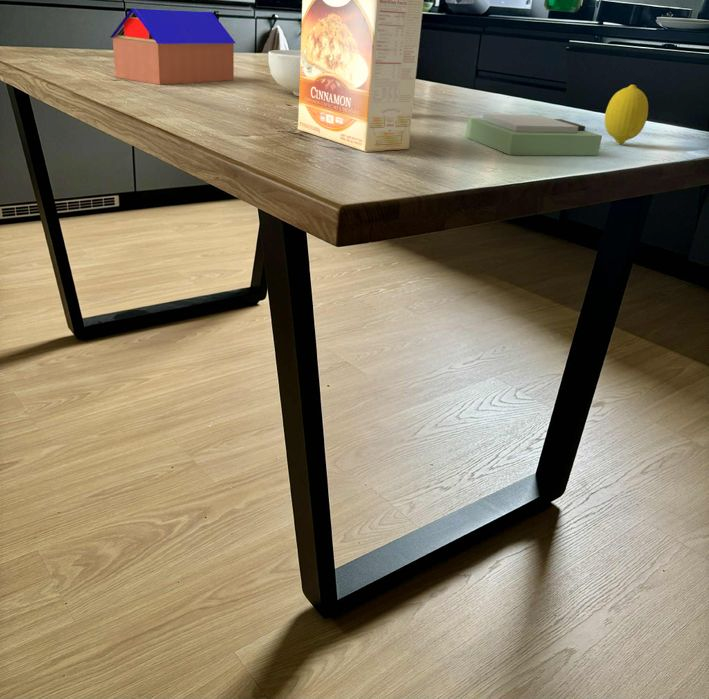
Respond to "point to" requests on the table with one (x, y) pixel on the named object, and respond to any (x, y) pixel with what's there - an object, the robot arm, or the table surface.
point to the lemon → (626, 114)
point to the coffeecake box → (359, 71)
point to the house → (172, 47)
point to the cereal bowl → (286, 68)
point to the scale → (532, 135)
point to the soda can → (562, 5)
